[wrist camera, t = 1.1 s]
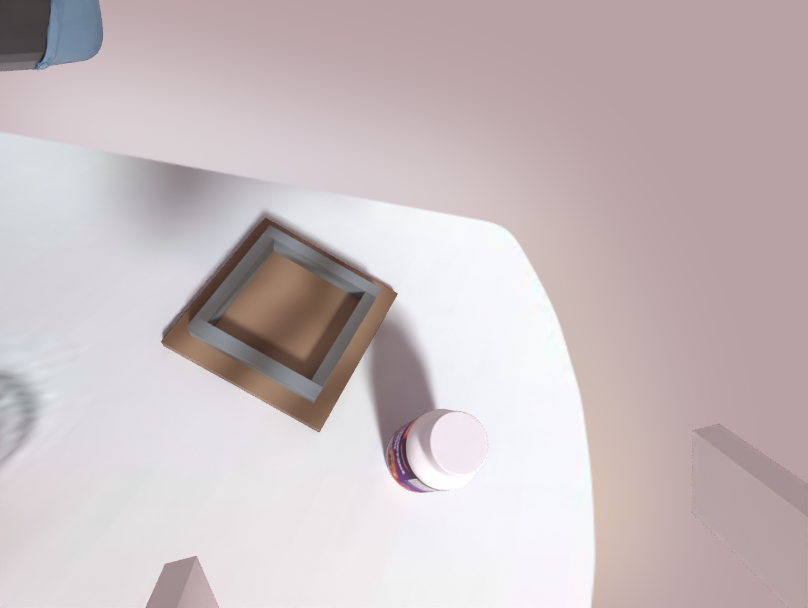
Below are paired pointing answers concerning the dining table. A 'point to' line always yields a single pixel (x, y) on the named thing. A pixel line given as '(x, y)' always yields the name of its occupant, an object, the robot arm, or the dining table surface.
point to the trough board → (283, 323)
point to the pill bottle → (437, 451)
